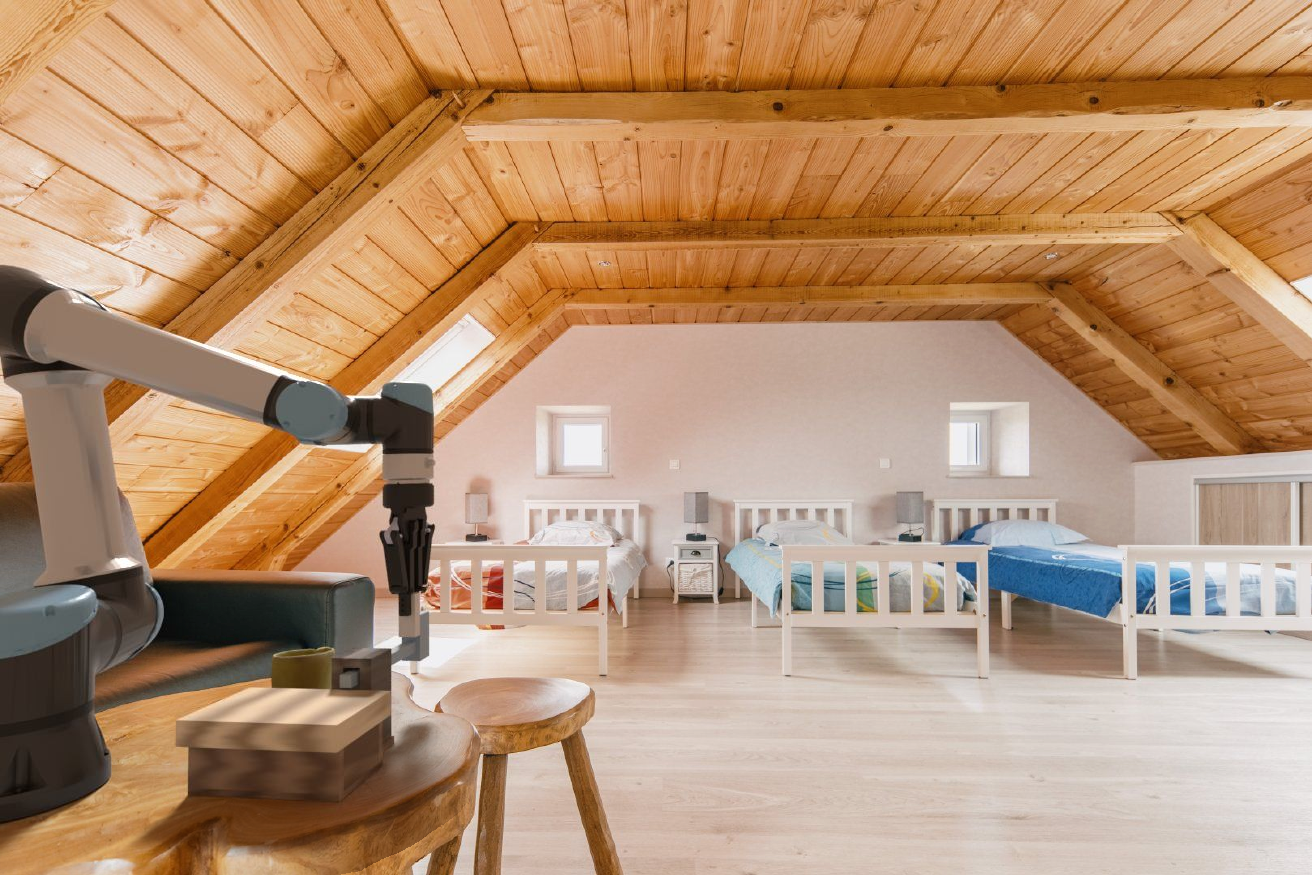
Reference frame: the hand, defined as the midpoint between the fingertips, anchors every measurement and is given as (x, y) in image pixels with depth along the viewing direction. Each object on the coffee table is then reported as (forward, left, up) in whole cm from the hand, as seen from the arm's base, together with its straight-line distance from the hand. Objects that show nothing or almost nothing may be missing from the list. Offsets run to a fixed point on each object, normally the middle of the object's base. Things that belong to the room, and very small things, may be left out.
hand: (409, 635), depth 102 cm
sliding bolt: (0, -6, -4) cm, 7 cm away
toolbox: (-4, -18, -12) cm, 22 cm away
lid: (-4, -22, -6) cm, 23 cm away
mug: (-21, +6, -12) cm, 25 cm away
